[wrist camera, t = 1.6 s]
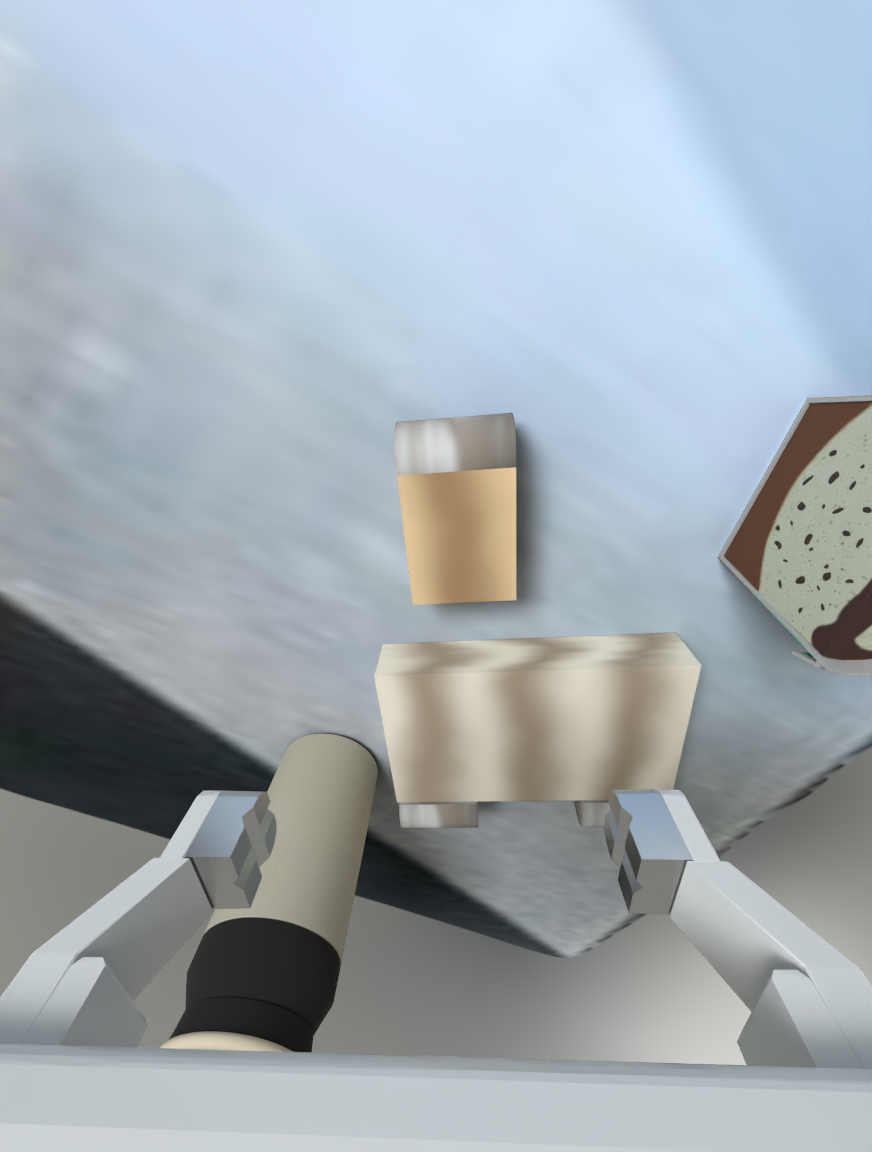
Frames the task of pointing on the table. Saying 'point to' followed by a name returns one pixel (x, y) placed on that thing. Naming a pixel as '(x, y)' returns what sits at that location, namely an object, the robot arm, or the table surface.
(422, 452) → the tan rectangular block
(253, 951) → the travel mug
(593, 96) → the table surface
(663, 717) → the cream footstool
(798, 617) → the food container
